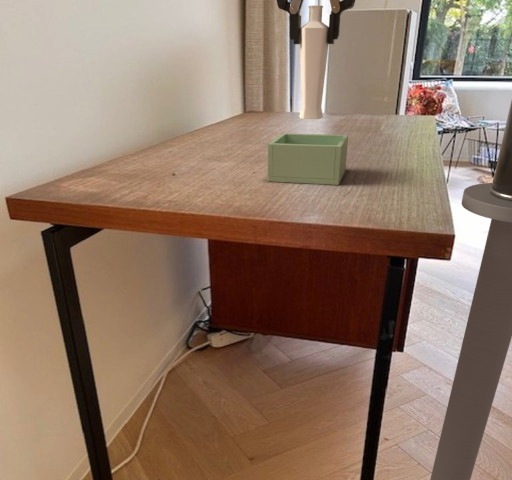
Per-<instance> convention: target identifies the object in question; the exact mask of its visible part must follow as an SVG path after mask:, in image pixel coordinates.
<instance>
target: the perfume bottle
mask: <svg viewBox="0 0 512 480" xmlns="http://www.w3.org/2000/svg"><path fill="white" fill-rule="evenodd" d="M323 8H324V6H323V5H308V10H309V11H308V13H309V14H308V22H307V23H305V24H304V25H302V26H301V28H300V44H299V55H300V89H301V90H300V94H301V95H300V96H301V97H300V100H301V107H300V111H299V116H298V118H300V119H301V120H320V119H323V118H324V115H323V108H322V106H323V105H322V104H323V95H324V87H325V78H326V71H327V62H328V53H329V46H330V44H328V35H329V25H327V24H325V22H323Z"/></svg>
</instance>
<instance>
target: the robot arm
mask: <svg viewBox="0 0 512 480" xmlns="http://www.w3.org/2000/svg"><path fill="white" fill-rule="evenodd" d="M304 1H305V0H291V2H290V1H289V0H276V3H277V8H278V9H280V10H282V11H284V12H287V13H288V15H289V38H290V40H291V41H293V45H300V28H301V27H302V15H301V10H302V7H303V4H304ZM355 3H356V0H329V4H330V8H331V12H330V13H329V19H328V27H329V35H328V44H329V45H335V40H338V39H339V38H340V27H341V16H342V14H343V13H344V12H345V11H347V10H351V9H353V8H354V6H355ZM498 153H499V154H498V158H497V162H496V167H495V171H494V175H493V178H492V183H493V184H492V186H491V189H490V194H491V195H493V196H495V197H497V198H500V199H503V200H507V201H512V100H511V101H510V106H509V109H508V114H507V119H506V122H505V127H504V132H503V136H502V140H501V144H500V149H499V152H498Z"/></svg>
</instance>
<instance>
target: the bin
mask: <svg viewBox="0 0 512 480" xmlns="http://www.w3.org/2000/svg"><path fill="white" fill-rule="evenodd" d="M348 143H349V135H348V134H315V133H285V132H284V133H281V134H280V135H278V136H277V137H276V138H274V139H272V140H271V141H269V142H268V143H267V174H266V175H267V182H270V183H272V182H273V183H289V184H291V183H292V184H293V183H294V184H311V185H312V184H313V185H328V186H329V185H332V186H339V184H340V183H341V181H342V178H343V176H344V174H345V172H346V169H347V156H348Z"/></svg>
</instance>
